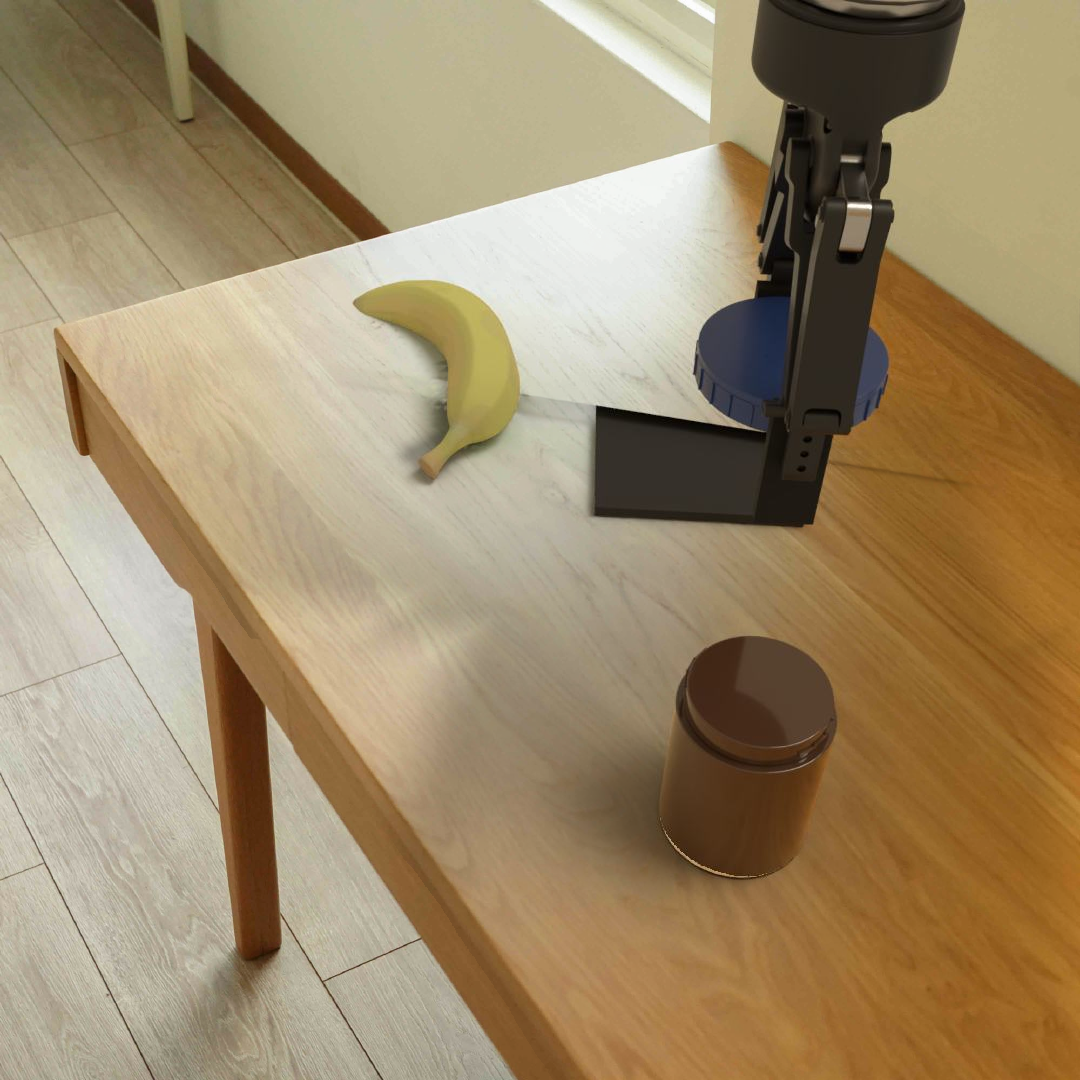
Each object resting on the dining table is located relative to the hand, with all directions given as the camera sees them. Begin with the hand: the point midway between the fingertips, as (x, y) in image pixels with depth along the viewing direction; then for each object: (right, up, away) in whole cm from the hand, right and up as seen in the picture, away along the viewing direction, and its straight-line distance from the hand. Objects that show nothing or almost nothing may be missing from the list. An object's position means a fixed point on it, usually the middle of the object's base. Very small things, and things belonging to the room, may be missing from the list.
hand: (774, 453), depth 65 cm
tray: (0, +2, +30) cm, 30 cm away
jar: (-1, -19, +8) cm, 21 cm away
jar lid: (0, +4, -4) cm, 6 cm away
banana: (-20, +6, +34) cm, 40 cm away
